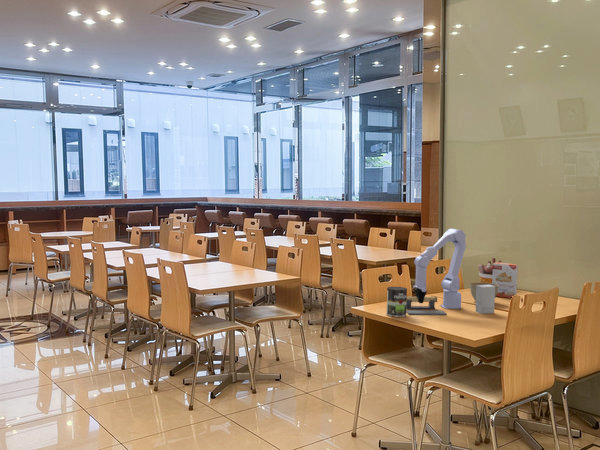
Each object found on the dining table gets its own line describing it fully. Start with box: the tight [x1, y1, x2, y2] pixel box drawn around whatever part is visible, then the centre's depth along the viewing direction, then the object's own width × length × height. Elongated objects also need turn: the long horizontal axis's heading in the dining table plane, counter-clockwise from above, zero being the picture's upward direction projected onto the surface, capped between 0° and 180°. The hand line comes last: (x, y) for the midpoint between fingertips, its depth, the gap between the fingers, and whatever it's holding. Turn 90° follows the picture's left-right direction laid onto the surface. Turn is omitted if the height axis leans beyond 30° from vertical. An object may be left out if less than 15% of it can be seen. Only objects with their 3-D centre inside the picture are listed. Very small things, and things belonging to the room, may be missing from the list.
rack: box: [406, 300, 436, 311], centre depth 312 cm, size 16×4×5 cm, turn 94°
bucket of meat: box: [477, 257, 502, 283], centre depth 384 cm, size 20×16×20 cm
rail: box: [406, 296, 438, 303], centre depth 312 cm, size 18×3×3 cm, turn 94°
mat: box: [406, 309, 447, 316], centre depth 300 cm, size 20×7×1 cm, turn 94°
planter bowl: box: [469, 282, 499, 303], centre depth 333 cm, size 16×16×11 cm
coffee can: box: [385, 286, 408, 318], centre depth 295 cm, size 10×10×14 cm
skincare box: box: [475, 285, 496, 315], centre depth 305 cm, size 8×6×15 cm
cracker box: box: [492, 262, 519, 299], centre depth 354 cm, size 14×6×21 cm, turn 59°
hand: (420, 302), depth 312 cm, fingers open, 3 cm apart
